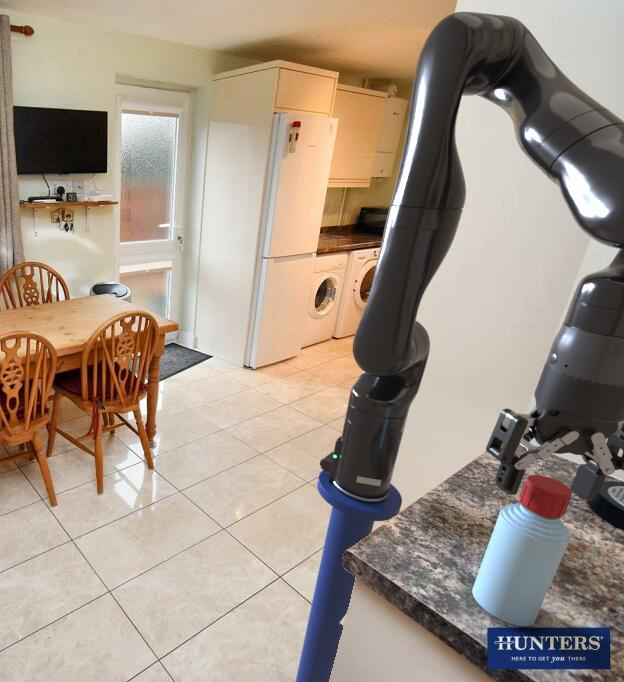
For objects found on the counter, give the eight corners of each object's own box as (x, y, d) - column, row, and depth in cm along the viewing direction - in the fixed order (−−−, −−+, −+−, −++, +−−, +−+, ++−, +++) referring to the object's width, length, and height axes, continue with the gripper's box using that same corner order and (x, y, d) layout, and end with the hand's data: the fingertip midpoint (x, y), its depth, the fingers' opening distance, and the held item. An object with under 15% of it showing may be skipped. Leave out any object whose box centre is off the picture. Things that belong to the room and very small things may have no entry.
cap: (530, 494, 56) (538, 471, 55) (569, 513, 53) (579, 490, 52) (512, 501, 55) (520, 478, 54) (551, 522, 51) (561, 498, 50)
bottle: (500, 627, 55) (547, 508, 50) (460, 584, 61) (498, 473, 56) (549, 626, 56) (602, 507, 50) (504, 583, 62) (547, 473, 56)
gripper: (552, 379, 45) (503, 510, 51) (705, 387, 44) (639, 519, 50) (498, 354, 52) (460, 470, 58) (628, 359, 51) (577, 478, 57)
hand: (543, 493), depth 54 cm, fingers open, 8 cm apart
